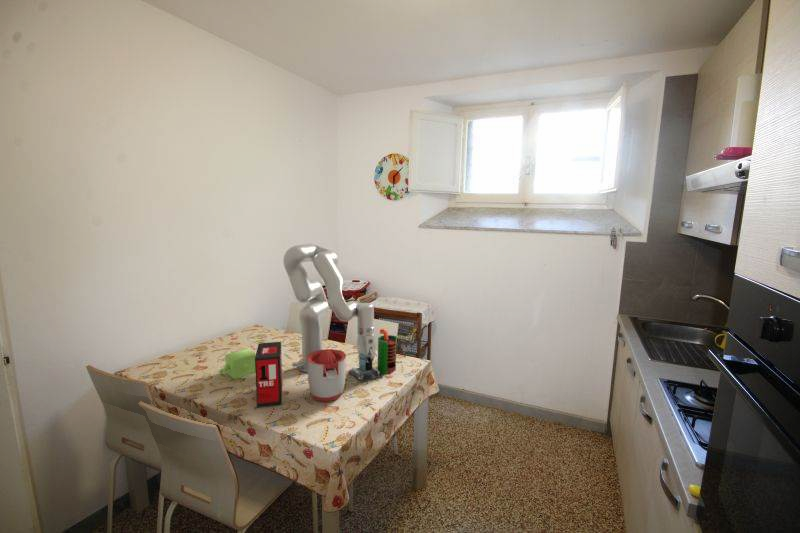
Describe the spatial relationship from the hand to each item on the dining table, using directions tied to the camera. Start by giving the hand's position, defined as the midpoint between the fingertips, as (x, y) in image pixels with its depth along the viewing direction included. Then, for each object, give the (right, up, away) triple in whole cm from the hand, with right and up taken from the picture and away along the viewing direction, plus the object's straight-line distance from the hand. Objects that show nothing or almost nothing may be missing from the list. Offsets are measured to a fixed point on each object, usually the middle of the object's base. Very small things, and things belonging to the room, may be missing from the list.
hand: (365, 367), depth 168 cm
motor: (+10, -3, +7) cm, 12 cm away
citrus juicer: (-14, -7, -20) cm, 25 cm away
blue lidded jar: (0, -1, 0) cm, 1 cm away
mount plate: (0, -4, +1) cm, 4 cm away
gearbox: (-58, -3, -1) cm, 58 cm away
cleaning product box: (-37, -6, -20) cm, 43 cm away
